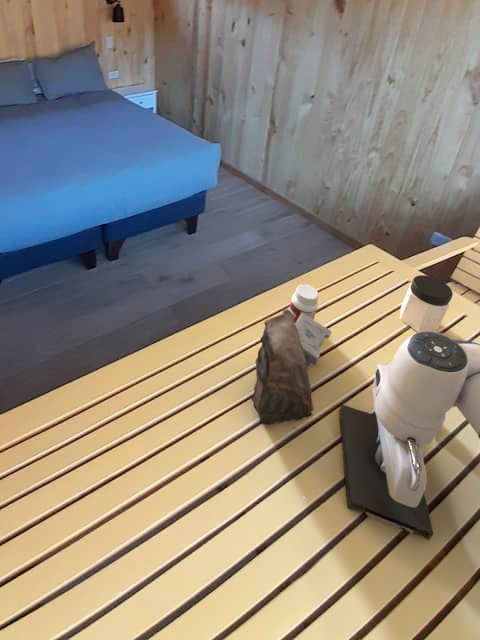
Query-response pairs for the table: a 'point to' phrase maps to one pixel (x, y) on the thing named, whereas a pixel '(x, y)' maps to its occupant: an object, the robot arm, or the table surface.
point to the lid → (373, 472)
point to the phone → (388, 520)
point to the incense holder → (311, 337)
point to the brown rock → (282, 373)
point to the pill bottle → (304, 302)
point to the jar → (425, 303)
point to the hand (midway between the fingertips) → (383, 457)
